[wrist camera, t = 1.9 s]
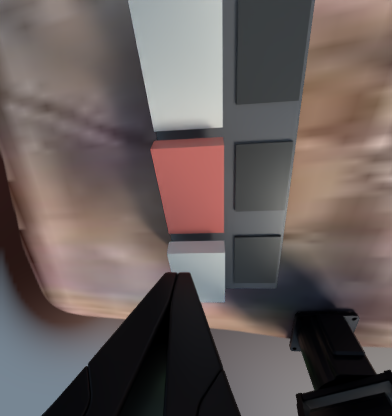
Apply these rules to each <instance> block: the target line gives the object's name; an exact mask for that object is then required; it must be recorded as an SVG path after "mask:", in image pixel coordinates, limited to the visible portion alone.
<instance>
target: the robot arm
mask: <svg viewBox="0 0 392 416" xmlns="http://www.w3.org/2000/svg"><path fill="white" fill-rule="evenodd" d="M358 321H359V316H358V315H357V314H356V313H327V312H299V313H297V314H296V315H295V319H294V324H293V329H292V334H291V339H290V344H289V347H290V350H291V351H301V352H302V355H303V358H304V361H305V364H306V367H307V370H308V373H309V376H310V379H311V382H312V385H313V388H314V391H311V392H307V393H303V394H302V393H298V394H296V398H297V410H298V416H392V372H391V370H387V371H384V373H380V374H376V372H375V370H374V369H373V367H372V365H371V364H370V362H369V360H368V358H367V357H366V355H365V352H364V350H363V348H362V347H361V345H360V343H359V341H358V340H357V338H356V336H355V334H354V331H355V329H356V326H357V324H358ZM42 416H241V415H240V412H239V409H238V407H237V404H236V402H235V399H234V396H233V393H232V391H231V388H230V385H229V382H228V380H227V377H226V374H225V371H224V370H223V366H222V363H221V360H220V357H219V354H218V351H217V348H216V346H215V342H214V339H213V337H212V334H211V331H210V328H209V325H208V322H207V319H206V316H205V313H204V311H203V308H202V305H201V302H200V299H199V296H198V293H197V290H196V287H195V284H194V282H193V279H192V276H191V273H190V272H179V273H177V272H167V273H165V274H164V275H163V276H162V277H161V278H160V280H159V281H158V282H157V283H156V284H155V285H154V287H153V288H152V289H151V290H150V291H149V293H148V294H147V295H146V296H145V297H144V298H143V300H142V301H141V302H140V303H139V304H138V305H137V307H136V308H135V309H134V310H133V311H132V312H131V314H130V315H129V316H128V317H127V318H126V320H125V321H124V322H123V323H122V324H121V325H120V327H119V328H118V329H117V330H116V331H115V333H114V334H113V335H112V336H111V337H110V338H109V339H108V341H107V342H106V343H105V344H104V345H103V347H102V348H101V349H100V350H99V351H98V352H97V354H96V355H95V356H94V357H93V358H92V359H91V361H90V362H89V363H88V366H86V367H85V368H84V369H83V370H82V371H81V372H80V373H79V375H78V376H77V377H76V378H75V379H74V380H73V381H72V383H71V384H70V385H69V386H68V387H67V388H66V389H65V391H64V392H63V393H62V394H61V395H60V396H59V397H58V398H57V400H56V401H55V402H54V403H53V404H52V405H51V406H50V407H49V408H48V409H47V410H46V412H44V413H43V414H42Z"/></svg>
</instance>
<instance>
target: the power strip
mask: <svg viewBox="0 0 392 416" xmlns="http://www.w3.org/2000/svg"><path fill="white" fill-rule="evenodd" d="M314 3H315V0H222V48H223V127H222V128H205V129H188V130H172V131H156V135H157V141H160V140H177V139H195V138H213V137H223V141H224V233H191V234H171V241H172V242H177V241H224V244H225V289H240V288H276V287H277V280H278V272H279V265H280V257H281V250H282V243H283V235H284V228H285V220H286V213H287V205H288V198H289V190H290V183H291V175H292V168H293V160H294V153H295V145H296V138H297V130H298V123H299V115H300V108H301V101H302V93H303V86H304V78H305V71H306V63H307V56H308V48H309V41H310V33H311V26H312V18H313V11H314Z"/></svg>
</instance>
